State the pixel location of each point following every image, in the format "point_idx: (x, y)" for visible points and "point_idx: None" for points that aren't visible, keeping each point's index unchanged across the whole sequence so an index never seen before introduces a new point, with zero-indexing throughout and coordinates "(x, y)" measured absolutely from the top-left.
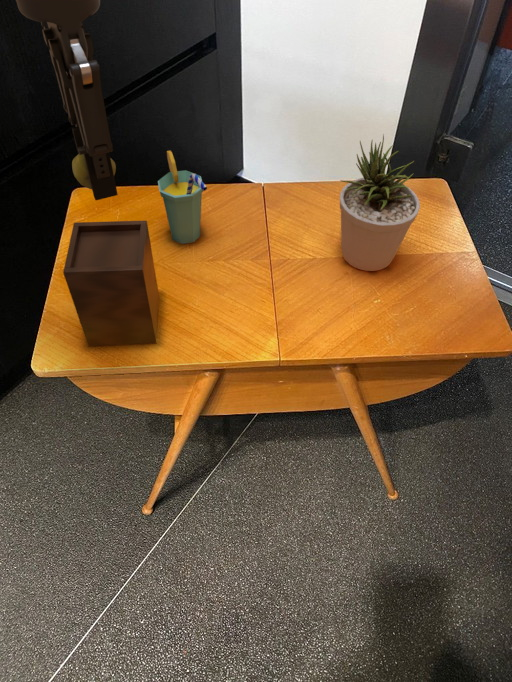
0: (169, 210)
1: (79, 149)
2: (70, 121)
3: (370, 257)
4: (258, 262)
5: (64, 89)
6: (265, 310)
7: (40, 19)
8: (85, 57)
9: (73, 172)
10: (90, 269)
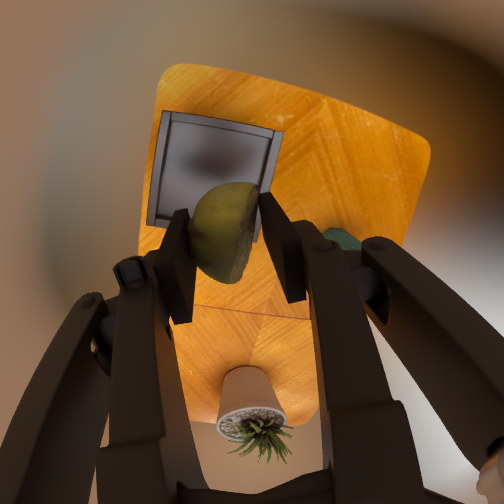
0: (341, 247)
1: (124, 268)
2: (315, 245)
3: (223, 388)
4: (264, 304)
5: (324, 337)
6: (195, 296)
7: None
8: None
9: (228, 184)
10: (159, 151)
